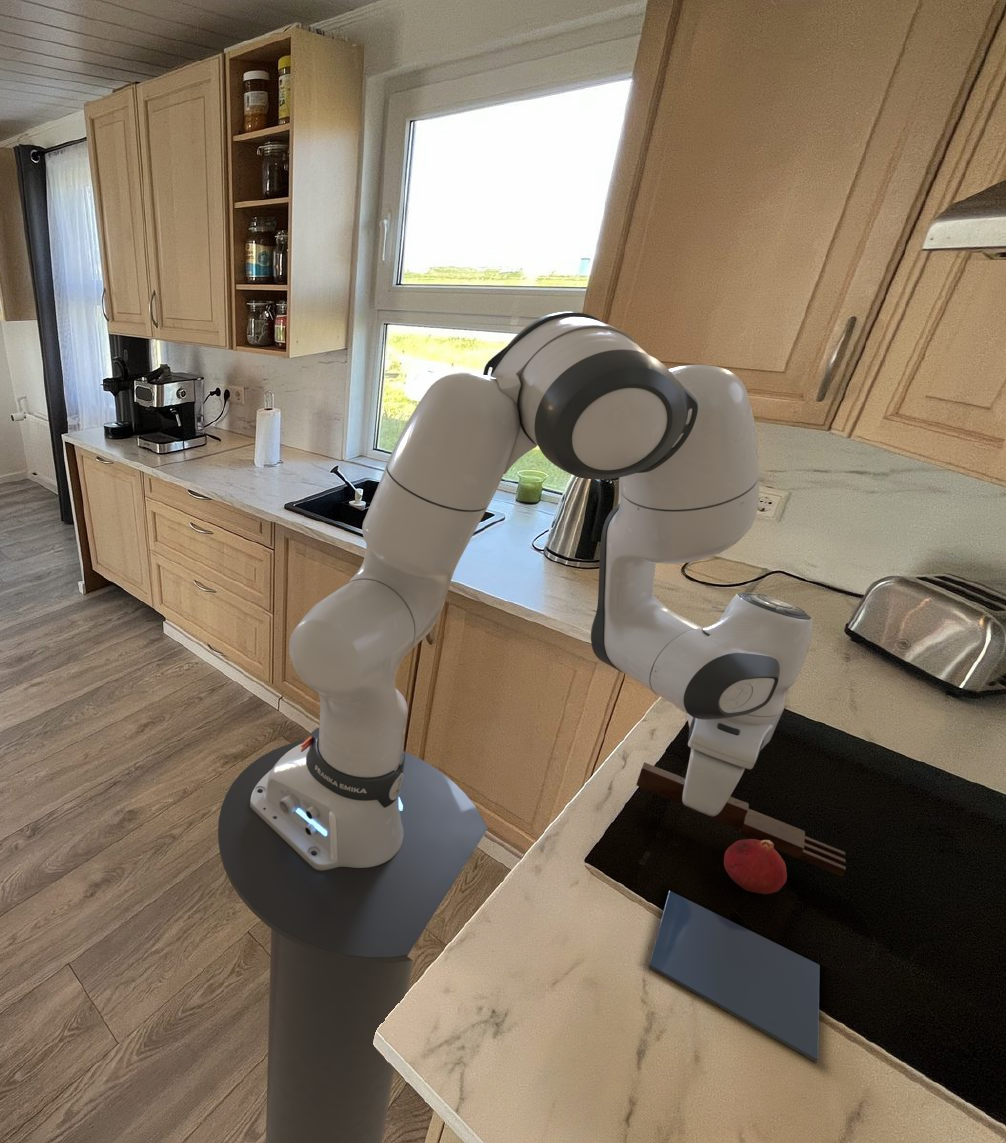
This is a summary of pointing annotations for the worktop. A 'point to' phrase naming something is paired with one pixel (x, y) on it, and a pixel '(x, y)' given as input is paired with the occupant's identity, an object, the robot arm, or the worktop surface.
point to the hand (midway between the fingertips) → (697, 796)
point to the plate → (740, 973)
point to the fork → (750, 822)
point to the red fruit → (755, 866)
